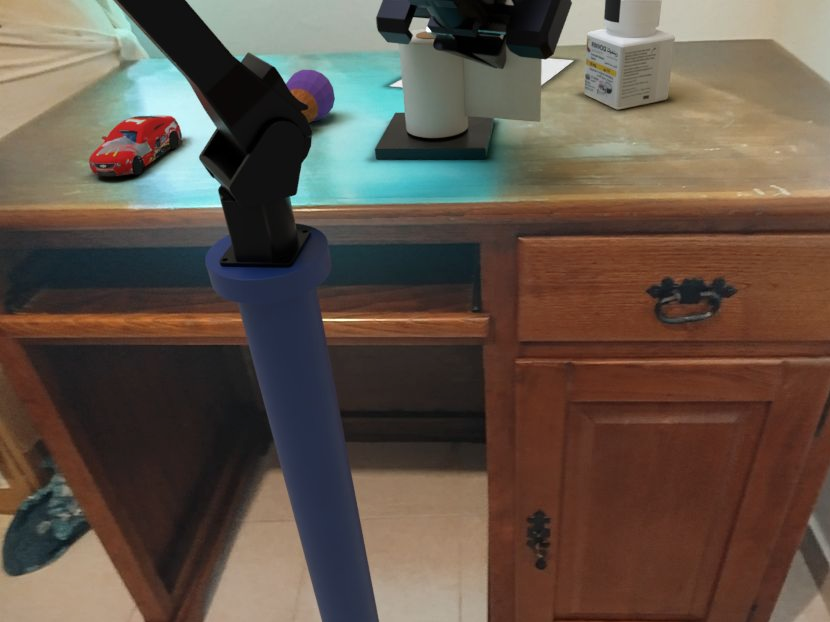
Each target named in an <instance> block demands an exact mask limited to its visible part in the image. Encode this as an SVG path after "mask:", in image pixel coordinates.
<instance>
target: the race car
mask: <svg viewBox="0 0 830 622" xmlns="http://www.w3.org/2000/svg"><path fill="white" fill-rule="evenodd" d="M182 138H183V134H182V131H181V127H180V124H179V123H178V120H177V119H176V118H175V117H173V116H172V115H155V114H154V115H138V116H137V115H136V116H132V117H129V118H127V119H124V120H122V121H121V122H120V123H118V124H116V125H115V126H114V127H113V128H112V129H111V131H110V132H109V133H108V135H107V136H106V135H103V136H101V139H102V140H103V143H102V144H101V145H100V146H99V147H98V148H97V149H96V150H94V151H93V152H92V153H91V155H90V156H89V158H88V164H89V168H90V169H91V173H93V174H94V175H95V176H100V177H121V176H126V175H134V176H140V175H142V173H143V172H144V167H147V166H148V165H150V164H151V163H152V162H154V161H155V160H157V159H158V158H160V157H161V156H162V155H164V154H165V153H166V152H168V151H169V150H175V149H177V148H178V147H179V143H180V141H181V140H182Z"/></svg>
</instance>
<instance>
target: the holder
mask: <svg viewBox="0 0 830 622" xmlns="http://www.w3.org/2000/svg"><path fill="white" fill-rule="evenodd" d="M392 116H393V117H391V119H390V121H389V122H388V124H387V127H386V128H385V130H384V132H383V133H382V135H381V137H380V139H379V140H378V142H377V144H376V146H374V147H375V148H374V155H375V159H376V160H486V159H487V156H488V152H489V147H490V143H491V142H490V141H491V138H492V133H493V129H494V124H495V118H484V117H472V116H468V128H467V129H466V130H465V131H464V132H462V133H460V134H457V135H454V136H449V137H443V138H423V137H417V136H414V135H411V134H410V133H408V132H407V130H406V120H405V112H395V113H394V114H393V115H392Z"/></svg>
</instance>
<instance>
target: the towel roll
mask: <svg viewBox="0 0 830 622" xmlns="http://www.w3.org/2000/svg"><path fill="white" fill-rule="evenodd" d="M409 31H410V32H411V33H412V34H413V37H412V39H411V41H410V43H409V44H398V51H399V52H398V53H399V63H400V75H401V79H402V87H403V88H402V87H401V88H402V95H403V96H402V97H403V106H404V113H405V120H406V130H407V132H408V133H410V134H411V135H414V136H417V137H423V138H443V137H449V136H454V135H457V134H460V133H462V132H464V131H465V130H466V129H467V128H468V116H472V117H484V118H494V119H498V120H499V119H500V120H508V121H509V120H511V121H523V122H535V123H540V122H541V121H542V120H541V118H542V112H541V111H542V85H541V72H542V59H536V58H526V57H520V56H518V55H516V54H514V53H513V52H511V51H510V50H509V49H508V47H507V45H506V63H505V66H504V68H503V69H499V68H492V67H489V66H486V65H484V64H481V63H478V62H475V61H472V60H469V59H466V58H463V57H459V56H456V55H453V54H450V53H447V52H443V51H438V50H436V49H435V48H434V47H433V42H434V40H435V38H434V36H433V35H432V34H428V33H427V32H426V28H418V29H413V30H409Z"/></svg>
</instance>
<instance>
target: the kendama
mask: <svg viewBox="0 0 830 622" xmlns="http://www.w3.org/2000/svg"><path fill="white" fill-rule="evenodd" d="M285 83H286V85H287V87H288V89H289V90H290V92H291V93H292V95H293V96H295V97H296V98H297V99H298V100H300V101H301V102H303V103H305V104H306V105H308V110H304V111H301V112H302V113H303V114H304V115H305V116H306V118H307V120H308V121H309V123H312V122H318V121H320V120H322V119H325V118H326V117H327V116H328V114H329V113H330V112H331V111H332V109H333V108H334V105H335V101H336V98H335V97H336V96H335V91H334V87H333V85H332V83H331V81H330V80H329V78H328V77H326V76H325V74H324V73H322V72H320V71H317V70H314V69H301V70H298V71H296V72H294V73H293V74H292V75H291V76H290V77H289V79H288V80H287V82H285Z"/></svg>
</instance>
